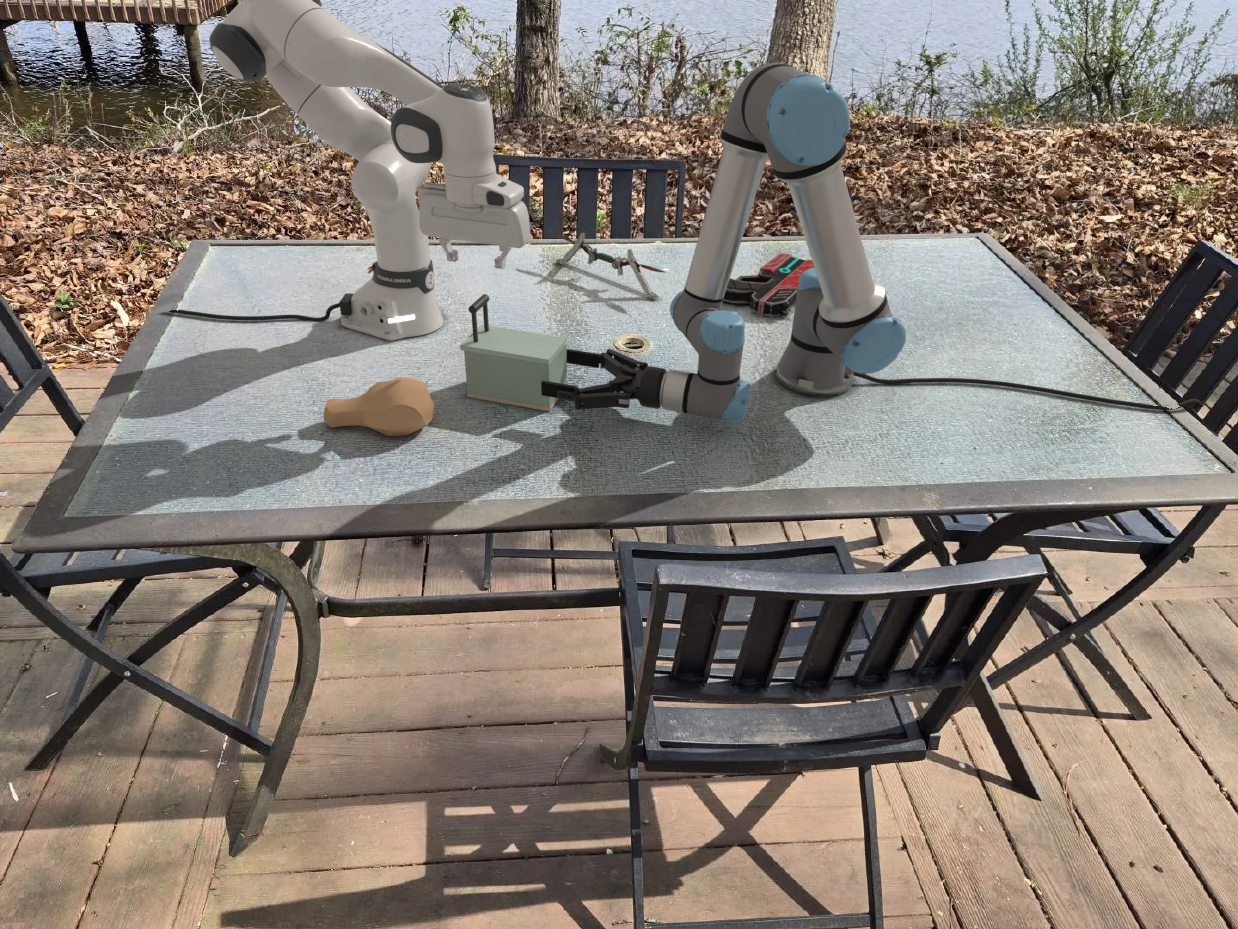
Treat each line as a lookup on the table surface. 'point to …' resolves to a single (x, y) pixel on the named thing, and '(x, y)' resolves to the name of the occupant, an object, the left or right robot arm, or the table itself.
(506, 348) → the lid
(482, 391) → the chest
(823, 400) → the table surface
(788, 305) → the gun
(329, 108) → the left robot arm
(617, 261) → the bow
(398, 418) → the squash
